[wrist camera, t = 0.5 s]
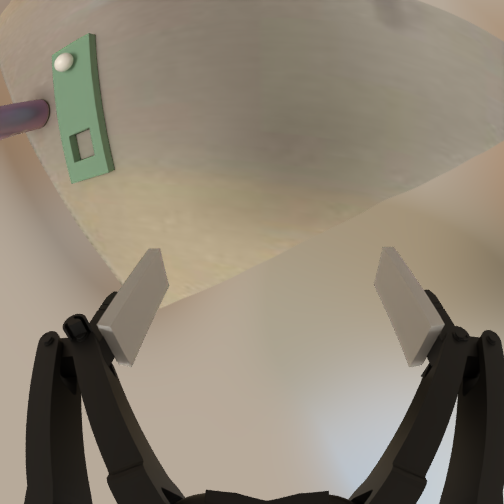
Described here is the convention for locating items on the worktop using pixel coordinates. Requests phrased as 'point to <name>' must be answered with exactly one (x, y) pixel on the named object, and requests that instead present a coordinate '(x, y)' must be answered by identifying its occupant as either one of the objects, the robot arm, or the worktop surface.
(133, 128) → the worktop surface
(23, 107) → the beverage can
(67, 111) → the green rectangular board
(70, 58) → the white ball
